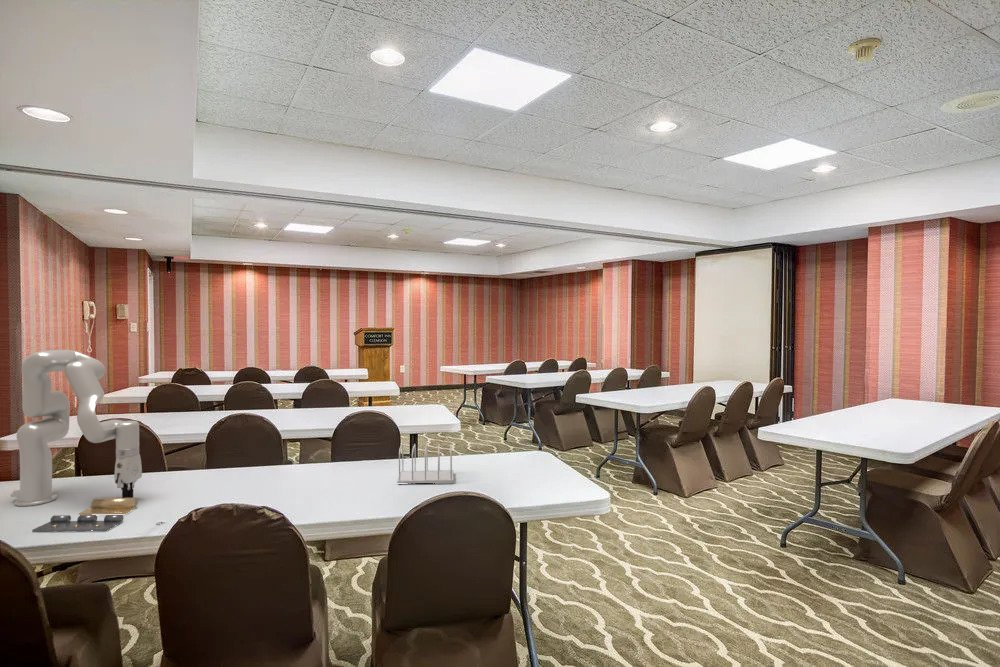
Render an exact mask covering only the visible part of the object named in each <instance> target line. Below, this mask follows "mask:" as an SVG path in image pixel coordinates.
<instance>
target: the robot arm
mask: <svg viewBox="0 0 1000 667" xmlns="http://www.w3.org/2000/svg"><path fill="white" fill-rule="evenodd" d="M53 372H64V375H65V377H66V379H67V381H68V383H69V385H70V387H71V390H72V391H73V394H74V395H75V397H76V399H77V401H78V407H77V412H76V422H77V424H78V427H79V429H80V430H81V432H82V434H83V436H84V438H85V439H86V440H87V441H88V442H90V443H91V444H92V443H93V444H99V443H100V444H101V443H103V442H104V443H105V442H107V441H110V440H115V464H114V483H115V484H116V485H117V486H116V487H117V489H118V488H119V489H120V490H121V496H122V497H121V498H134V488H135V483H136V482H137V481H138V480H139V479H142V476H143V468H142V458H141V454H140V423H139V422H138V421H137V420H120V419H110V420H104V421H100V420H99V418H98V416H97V413H96V408H97V407H96V406H97V404H98V403H99V401H101V399H103V398H104V396H105V392H104V389H103V387H102V386H101V383H100V381H99V380H100V379H101V378H103V377H104V376H105V374H106V367H105V365H104V364H103V363H102V361H100V360H98V359H97V358H94V357H91V356H89V355H87V354H84V353H81V352H79V351H77V350H74V349H73V350H72V349H52V350H51V349H50V350H49V349H48V350H40V351H36V352H33V353H31V354H29V355H27V357H26V356H25V358H24V360H23V361H22V363H21V375H22V402H21V403H22V412H23V414H24V416H25V417H27V418H31V419H32V418H33V419H34V418H35V419H36V418H42V419H38V420H33V421H29V422H26V423H24V424H22V425H20V427H19V428H18V429H17V431H16V434H15V435H16V440H17V441H16V442H17V446H18V451H19V490H17V489H16V490H13V491H12V493H11V494H10V497H11V498H14V497H15V498H16V499H15V501H14V505H15V506H18V507H29V506H30V507H31V506H38V505H43V504H47V503H50V502H53V501H55V500H56V499H57V498H58V495H57V494H56V493H53V454H52V453H53V452H52V450H51V448H50V446H49V445H48V443H51V442H56V441H60V440H61V439H63V438H65V437H66V436H67V435H68V432H69V429H70V412H71V411H70V409H71V408H70V407H71V404H70V399H69V398H68V395H66V394H65V393H64V391H63V392H62V391H59V390H52V385H53V384H52V379H51V377H50V375H49V374H48V373H53ZM43 417H44V419H43Z"/></svg>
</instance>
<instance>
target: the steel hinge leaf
mask: <svg viewBox="0 0 1000 667" xmlns="http://www.w3.org/2000/svg"><path fill="white" fill-rule="evenodd" d="M103 518H104V519H103V520H98V516H96V515H80V516H79V515H78V517H77V519H76V520H72V516H71V515H70V514H69V515H68V514H66V515H62V514H61V515H57V514H56V515H52V516H51V517H50V521H48V522H46V523H44V524H42V525H40V526H37V527H35V528H33V529H32V530H31V531H32V533H55V532H54V531H91V530H93V531H107V530H108V529H110V528H112V527H114V526H115V525H117V524H119V523H121V522H122V523H123V521H124V516H123V515H106V516H104V517H103ZM122 523H121V524H122ZM119 525H120V524H119ZM117 526H118V525H117ZM114 528H115V527H114ZM112 529H113V528H112ZM110 530H111V529H110ZM108 531H109V530H108ZM108 531H107V532H108Z"/></svg>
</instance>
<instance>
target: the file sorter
mask: <svg viewBox="0 0 1000 667" xmlns="http://www.w3.org/2000/svg"><path fill="white" fill-rule="evenodd" d="M400 444H401V445H400V446H399V449H398V450H399V451H398V479H397V481H396V484H397V483H433V484H432V485H436V484H437V485H438V484H440V485H443V484H445V485H447V484H449V485H450V484H452V485H453V484H454V469H453V453H452V452H453V450H452V448H453V444H452V443H450V450H449V452H450V454H449V456H450V460H449V461H450V469H448V470H446V469H445V470H441V468H440V467H441V464H440V463H441V462H440V458H441V456H440V452H441V451H440V449H441V448H440V445H441V444H440V443H438V444H437V445H438V446H437V451H438V452H437V453H438V454H437V456H438V457H437V458H438V460H437V470H428V469H429V468H428V466H429V465H428V464H429V462H428V461H429V459H428V455H429V454H428V453H429V452H428V449H429V448H428V447H429V446H428V443H425V448H424V470H417V469H416V468H417V466H416V464H417V462H416V461H417V458H416V456H417V454H416V453H417V447H416V443H414V445H413V446H412V449H411V470H404V443H400ZM401 465H402V466H401ZM401 467H402V470H401ZM434 483H435V484H434Z"/></svg>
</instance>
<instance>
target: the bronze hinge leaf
mask: <svg viewBox="0 0 1000 667" xmlns="http://www.w3.org/2000/svg"><path fill="white" fill-rule="evenodd" d="M137 505H138V499H137V497H133V498H122V497H95V498H94V499H93V500H92V502H91V506H90V507H89V508H87V509H85V510H82V511H80V512H78V516H79V515H92V514H126V513H128V512H130V511H131V510H133V509H135V508H136V509H137ZM130 513H131V512H130ZM128 514H129V513H128ZM126 515H127V514H126Z"/></svg>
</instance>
